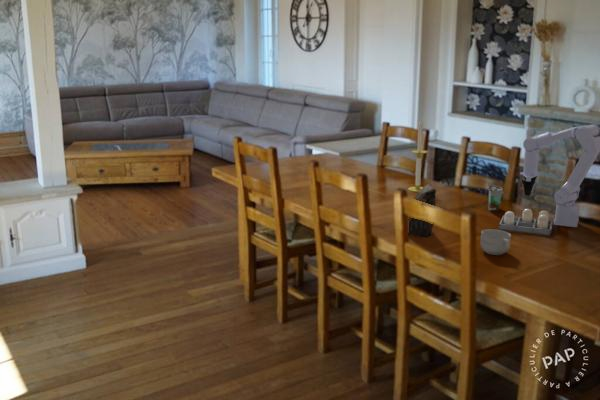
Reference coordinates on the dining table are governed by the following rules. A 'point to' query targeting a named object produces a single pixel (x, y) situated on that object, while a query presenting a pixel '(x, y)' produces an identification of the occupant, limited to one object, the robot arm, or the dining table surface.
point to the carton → (526, 227)
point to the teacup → (495, 241)
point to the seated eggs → (542, 218)
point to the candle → (418, 159)
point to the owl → (420, 226)
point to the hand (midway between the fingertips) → (528, 193)
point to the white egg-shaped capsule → (509, 218)
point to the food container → (494, 197)
